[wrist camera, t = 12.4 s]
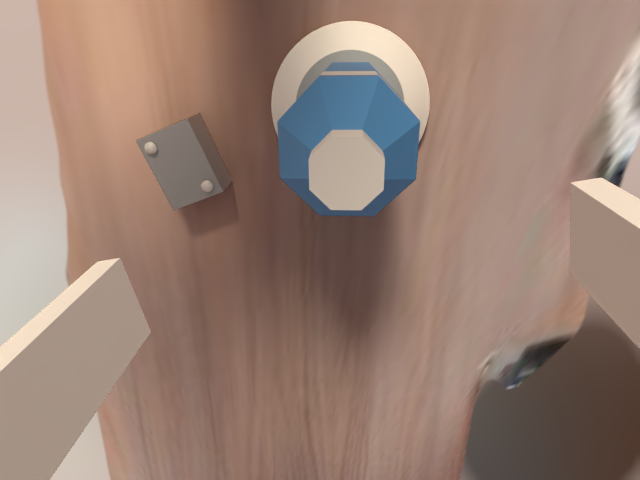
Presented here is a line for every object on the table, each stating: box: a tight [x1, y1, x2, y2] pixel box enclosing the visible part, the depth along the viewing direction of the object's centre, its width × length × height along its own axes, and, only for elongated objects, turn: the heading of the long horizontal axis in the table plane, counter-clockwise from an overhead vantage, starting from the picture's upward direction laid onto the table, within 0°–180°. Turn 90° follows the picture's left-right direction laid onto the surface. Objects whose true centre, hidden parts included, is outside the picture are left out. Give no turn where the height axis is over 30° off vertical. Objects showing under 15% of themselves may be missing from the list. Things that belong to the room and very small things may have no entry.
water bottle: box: [277, 62, 420, 216], centre depth 35 cm, size 9×9×25 cm
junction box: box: [136, 113, 232, 210], centre depth 48 cm, size 8×6×4 cm
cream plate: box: [271, 21, 430, 142], centre depth 47 cm, size 16×16×1 cm
